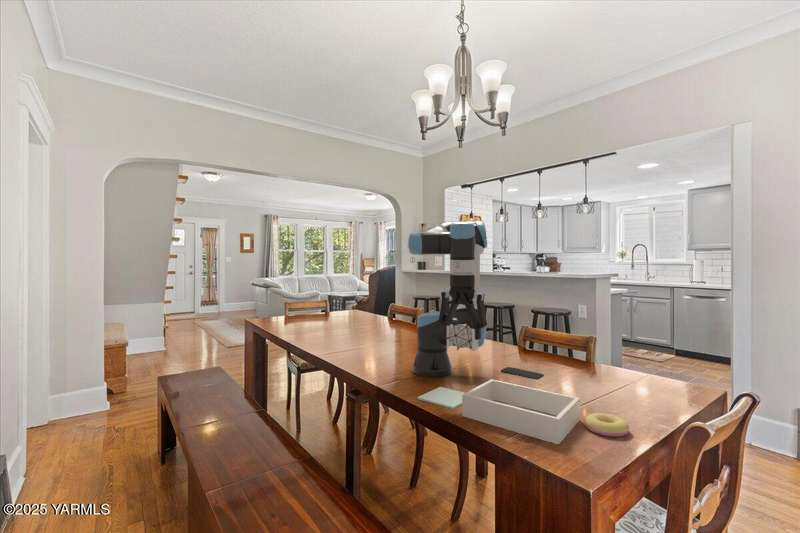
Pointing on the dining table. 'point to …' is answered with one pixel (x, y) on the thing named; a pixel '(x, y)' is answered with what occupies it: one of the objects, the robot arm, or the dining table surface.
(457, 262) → the robot arm
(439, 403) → the mat
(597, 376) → the dining table surface
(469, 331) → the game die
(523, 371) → the phone
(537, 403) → the crate
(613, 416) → the donut
